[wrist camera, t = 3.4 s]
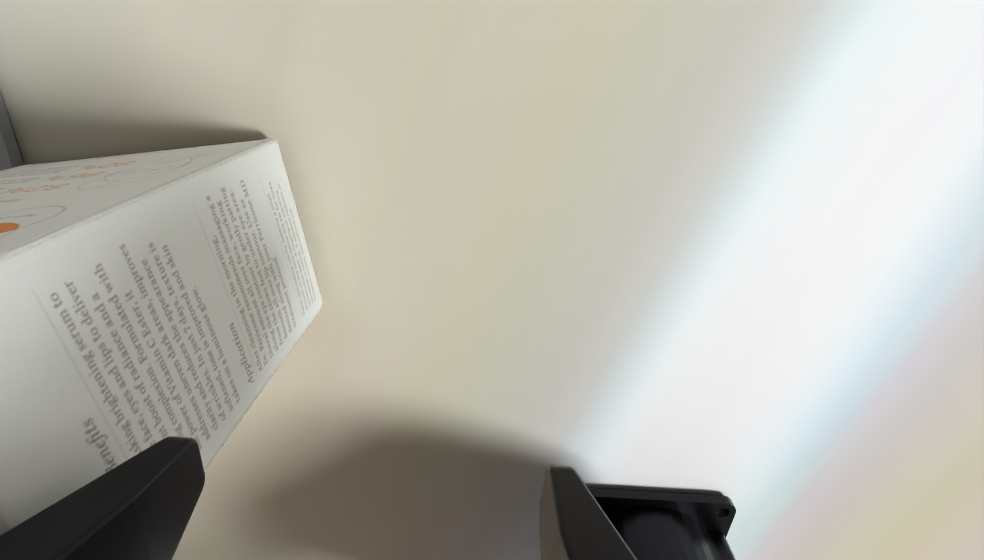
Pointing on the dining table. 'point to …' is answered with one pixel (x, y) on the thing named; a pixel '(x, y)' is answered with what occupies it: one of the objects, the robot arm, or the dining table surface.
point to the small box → (140, 308)
